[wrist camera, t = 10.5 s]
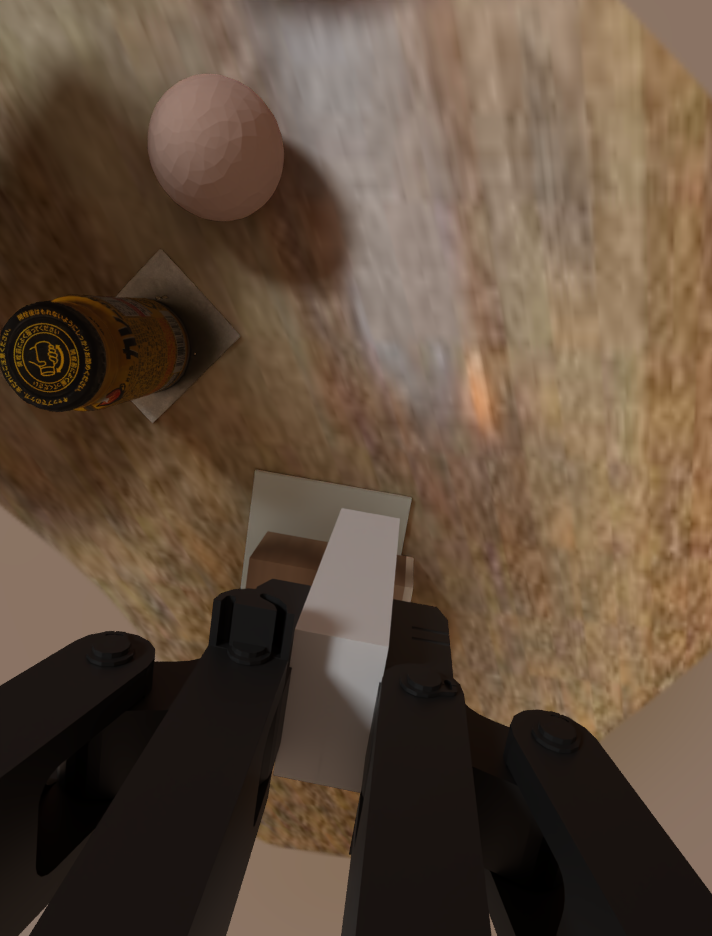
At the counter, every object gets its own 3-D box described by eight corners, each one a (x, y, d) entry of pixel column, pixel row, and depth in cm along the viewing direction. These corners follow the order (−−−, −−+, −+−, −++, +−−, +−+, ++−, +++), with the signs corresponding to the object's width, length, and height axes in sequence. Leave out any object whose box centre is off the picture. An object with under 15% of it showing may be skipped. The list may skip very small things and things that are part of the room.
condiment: (75, 340, 43) (-50, 352, 32) (161, 248, 42) (61, 224, 30) (153, 422, 44) (59, 463, 33) (242, 335, 42) (175, 345, 31)
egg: (176, 100, 39) (113, 46, 31) (295, 100, 39) (263, 45, 31) (180, 227, 41) (122, 208, 33) (295, 230, 40) (264, 210, 32)
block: (400, 624, 45) (258, 598, 46) (413, 557, 44) (267, 531, 45) (398, 662, 41) (240, 632, 41) (413, 588, 39) (249, 558, 40)
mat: (234, 643, 47) (233, 645, 47) (256, 469, 44) (255, 470, 44) (379, 670, 47) (379, 673, 46) (411, 497, 44) (411, 498, 43)
